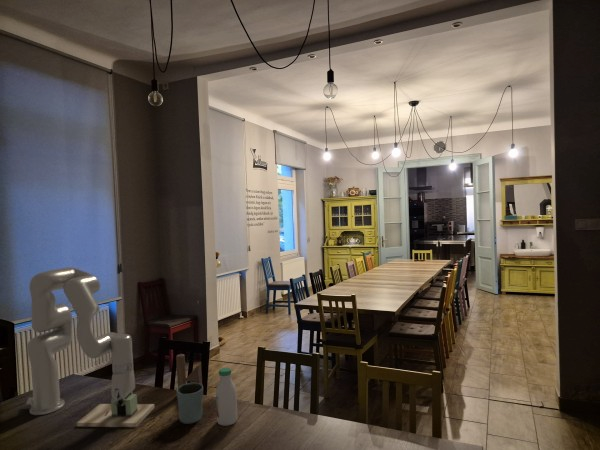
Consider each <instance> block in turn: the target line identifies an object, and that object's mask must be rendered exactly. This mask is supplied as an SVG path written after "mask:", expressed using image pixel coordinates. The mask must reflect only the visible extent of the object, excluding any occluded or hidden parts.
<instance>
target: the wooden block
mask: <svg viewBox="0 0 600 450" xmlns="http://www.w3.org/2000/svg"><path fill="white" fill-rule="evenodd" d="M185 355H186V354H184V353H180V354H177V355H176V357H175V360H176V376H177V379H176V380H177V388H178V387H179V386H181V385H183V384H187V382H190V383H200V384H202V385H203V375H202V374H203V373H202V362H200V363H199V364H198V365H197V366H196V367H195V368H194V369H193V370H192V371H191V372H190V374H189V375H188V376H187V375H186V374H187V373H186V360H185V359H186V356H185ZM177 388H176V393H177Z"/></svg>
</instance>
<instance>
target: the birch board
mask: <svg viewBox="0 0 600 450" xmlns="http://www.w3.org/2000/svg"><path fill="white" fill-rule="evenodd" d="M137 408H138V410H137V411H136V412H135V413H134V414H133V415H132V416H112V411H111V403H100V404H98V405H96V406H95V407H94V408H93V409H91V410H90V411H89V412H88V413H86V415H84V416H83V417H82V418H81V419H79V420H78V421H76V427H88V428H89V427H93V428H94V427H96V428H97V427H98V428H99V427H101V428H104V427H105V428H108V427H109V428H137V427H138V426H139V425H140V423H142V422H143V421H144V420H145V418H146V417H147V416H148V415H150V413H151V412H152V411H153V410H154V409H155V404H154V403H137Z"/></svg>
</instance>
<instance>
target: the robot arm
mask: <svg viewBox="0 0 600 450" xmlns="http://www.w3.org/2000/svg"><path fill="white" fill-rule="evenodd" d="M100 287H101V283H100V280H99V279H98V278H97V277H96V276H95V275H93V274H92V273H89V272H86V271H83V270H80V269H79V268H76V267H62V268H58V269H51V270H47V271H43V272H38V273H37V274H35V275H33V277H31V279H30V281H29V287H28V288H29V293H30V297H31V305H30V306H31V320H30V321H31V322H30V323H31V327H32V330H33V331H34V332H36V333H41V334H39V335H36V336H34V337H33V338H31V339H30V340H29V341H28V342H27V345H26V352H27V355H28V359H29V362H30V363H29V364H30V372H31V384H32V397H28V399H27V401H26V403H25V405H27V406H31V407H30V408H29V414H31V415H33V416H43V415H47V414H51V413H54V412H57V411H58V410H60V409H62V408H63V407H64V406H65V399H63V398H61V392H60V378H59V376H60V375H59V365H58V362H57V360H56V359H55V358H54V357H53V355H54V354H57V353H59V352H62V351H64V350H65V349H68V347H69V346H71V343H72V339H73V314H72V310H73V311H74V313H75V315H76V317H77V323H76V338H77V339H76V340H77V342H78V344H79V346H80V348H81V350H82V351H83V353H84V355H86V356H87V358H90V359H94V360H95V359H98V358H100V357H102V356H104V355H106V354H109V353H111V361H112V362H111V365H112V366H111V367H112V376H111V388H110V390H111V400H112V399H113V403H114V404H116V406H117V415H118V416H125V415H126V408H125V405H124V401H125V397H126V396H127V395H128V394H134V393H135V389H136V380H135V377H136V376H135V371H134V356H133V339H132V336H131V335H130V334H128V333H127V334H126V333H124V334H123V333H122V334H120V333H118V332H113V331H110V332H106V333H104V334H101V335H99V336H97V337H95V336H94V333H93V331H92V328H91V327H92V326H91V325H92V324H91V323H92V321H93V318H94V317H95V316H96V315H97V314H98V312H100V305H99V304H98V301H97V300H96V298H95V296H94V295H95V294H96V293H98V292H99V290H100ZM58 290H63V292H64V294H65V296H66V298H67V301H68V303H69V305H70V306H71V308H72V310H71V309H70V308H69V306H67V305H66V304H62V303H61V304H56V297H55V294H54V292H53V291H58ZM119 396H121V397H119ZM119 399H122V402H121V401H119Z"/></svg>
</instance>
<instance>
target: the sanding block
mask: <svg viewBox="0 0 600 450" xmlns="http://www.w3.org/2000/svg"><path fill="white" fill-rule="evenodd" d="M119 397H121V396H119ZM119 401H121V402H122V399H119ZM110 404H111V411H112V416H118V415H117V406H116V404H114V403H113V399H112V398H111V399H110ZM137 404H138V395H137V394H135V393H133V394H128V395H127V396H126V397H125V401H124V405H125V408H126V415H125V416H132V415H133V414H134V413H135V412H136V411H137V410H138V408H137Z"/></svg>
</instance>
